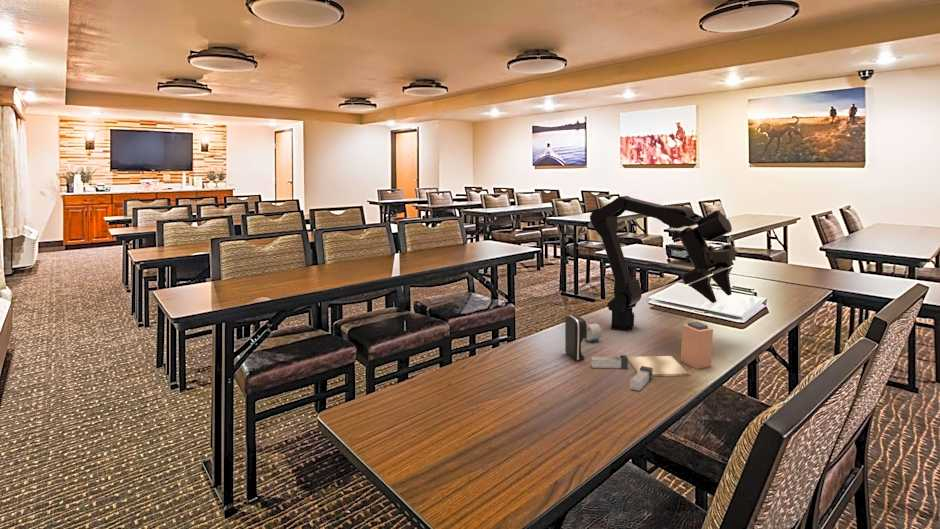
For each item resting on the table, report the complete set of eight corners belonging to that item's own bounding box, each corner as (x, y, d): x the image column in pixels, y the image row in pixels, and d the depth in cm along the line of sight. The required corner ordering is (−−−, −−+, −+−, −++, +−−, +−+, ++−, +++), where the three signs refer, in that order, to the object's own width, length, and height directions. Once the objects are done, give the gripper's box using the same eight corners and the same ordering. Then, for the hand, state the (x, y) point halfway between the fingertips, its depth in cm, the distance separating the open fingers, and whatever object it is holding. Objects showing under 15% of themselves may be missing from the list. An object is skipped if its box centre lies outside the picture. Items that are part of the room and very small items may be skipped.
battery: (588, 360, 142) (588, 319, 140) (575, 361, 142) (575, 321, 139) (577, 351, 149) (577, 312, 147) (564, 353, 148) (564, 314, 146)
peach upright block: (680, 360, 140) (682, 321, 138) (694, 358, 142) (696, 319, 139) (696, 368, 135) (699, 328, 133) (710, 366, 136) (713, 326, 134)
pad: (639, 376, 131) (640, 374, 131) (626, 359, 142) (626, 356, 142) (688, 375, 130) (688, 373, 130) (671, 358, 142) (671, 355, 142)
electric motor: (577, 338, 160) (577, 322, 159) (591, 336, 162) (591, 320, 161) (589, 345, 154) (589, 329, 153) (603, 343, 155) (603, 327, 154)
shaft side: (625, 364, 138) (625, 355, 138) (627, 368, 136) (627, 359, 135) (590, 364, 139) (591, 355, 139) (592, 368, 137) (592, 358, 136)
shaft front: (641, 375, 131) (642, 365, 131) (652, 378, 130) (652, 368, 129) (629, 388, 124) (629, 378, 124) (640, 391, 123) (640, 380, 122)
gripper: (705, 241, 136) (734, 296, 133) (737, 230, 148) (764, 281, 145) (670, 257, 145) (696, 310, 142) (702, 246, 156) (727, 295, 153)
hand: (722, 298), depth 145 cm, fingers open, 9 cm apart
